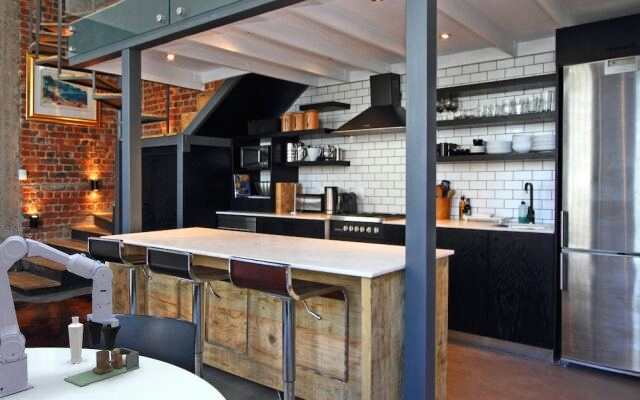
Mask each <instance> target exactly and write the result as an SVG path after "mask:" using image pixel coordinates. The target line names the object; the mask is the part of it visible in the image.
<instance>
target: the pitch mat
mask: <svg viewBox="0 0 640 400" xmlns="http://www.w3.org/2000/svg"><path fill="white" fill-rule="evenodd" d="M110 366H111V364H110ZM138 369H139V368H138V367H135V368H132V369H129V370H126V366H122V368H119V369H118V368H115V367H113V371H110V372H107V373H104V374H97V373H94V372H93V369H91V370H87V371H84V372H81V373H80V372H79V373H77V374H73V375H70V376H67V377H64V378H63V381H65V382H67V383H70V384H73V385H75V386H78V387H80V388H82V387H86V386H89V385H92V384H95V383H98V382H101V381H104V380H107V379H108V380H109V379H110V378H114V377H117V376H120V375H122V374H125V373H129V372H132V371H135V370H138Z"/></svg>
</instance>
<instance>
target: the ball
mask: <svg viewBox="0 0 640 400" xmlns="http://www.w3.org/2000/svg"><path fill="white" fill-rule="evenodd" d="M122 366H126V355H122Z"/></svg>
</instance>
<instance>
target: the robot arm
mask: <svg viewBox="0 0 640 400" xmlns="http://www.w3.org/2000/svg"><path fill="white" fill-rule="evenodd" d="M26 254H27V257H28V258H30V257H37V256H39V257H42V258H45V259H47V260H51V261H52V262H56V263H59V264H62V265H65V266H66V267H65V268H66V269H67V271H68V272H70V273H72V274H75V275H77V276H79V277H83V278H85V279H87V280H88V279H92V289H91V293H92V295H91V298H92V301H91V303H92V305H91V306H92V310H91V311H92V313H88V314H86V321H87V322H86V323H84V327H85V328H86V330H87V331H88V334H89V338H90V341H91V345H92V346H96V345H97V346H98V345H100V343H101V339H102V336H103V338H104V347H105V350H108V351H109V350H111V349H114V348H115V347H114V346H115V342H116V338H117V336H118V333H119V331H120V329H121V328H122V325H121V324H119V323H120V322H119V321H120V319H118V318H116V315H115V314H113V288H112V285H113V283H112V281H113V279H114V274H113V270H112V268H110V267H109V266H108V265H107V264H105V263H104V262H102V261H100V260H93V259H91V258H89V257H86V254H85V253H83V252H82V253H80V254H79V253H75V254H72V255H71V254H70V255H69V254H68V253H65V252H63V251H61V250H58V249H56V248H54V247H52V246H49V245H47V244H44V243H43V242H40V241H37V240H34V239H31V238H24V237H22V236H20V235H12V236H8V237H7V238H6V239H5V240H4V241H3V242H1V244H0V398H2V397H5V396H9V395H12V394H16V393H19V392H23V391H25V390H29V389H31V388H32V389H33V388H34V384H32V383H29V382H28V381H29V379H28V378H29V377H28V376H29V374H28V372H29V371H28V353H26V352H25V351H26V346H25V345H26V338H25V335H23V333H22V332H21V331H20V326H19V324H18V319H17V313H16V309H15V305H14V299H13V294H12V289H11V285H10V280H9V274H8V270H9V269H10V268H11V267H12V266H13V265H14V263H15V262H18V261H19V260H20V259H22V258H23V257H24V256H25V255H26ZM104 325H106V326H104Z"/></svg>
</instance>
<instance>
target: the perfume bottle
mask: <svg viewBox="0 0 640 400" xmlns="http://www.w3.org/2000/svg"><path fill="white" fill-rule="evenodd" d="M79 318H80V317H79V316H72V317H71V320H72V321H71V322H72V323H70V324H69V325H67V327H68V337H69V338H68V339H69V349H70V360H69V362H71V363H70V365H71V364H72V363H76V364H81V363H82V362H83V357H82V351H83V350H82V349H83V348H82V347H83V333H84V324H83V323H80V322H79ZM81 361H82V362H81Z"/></svg>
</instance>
